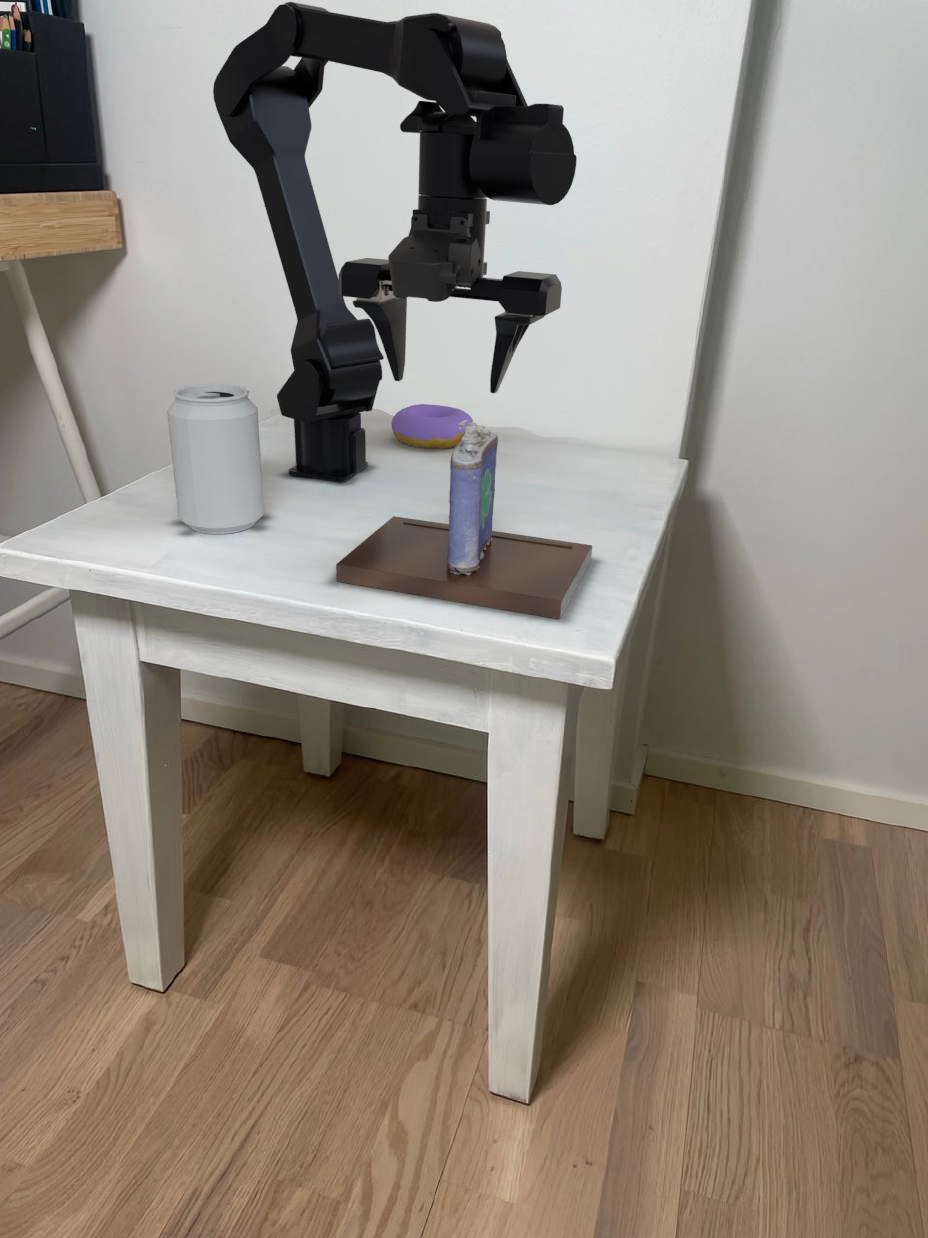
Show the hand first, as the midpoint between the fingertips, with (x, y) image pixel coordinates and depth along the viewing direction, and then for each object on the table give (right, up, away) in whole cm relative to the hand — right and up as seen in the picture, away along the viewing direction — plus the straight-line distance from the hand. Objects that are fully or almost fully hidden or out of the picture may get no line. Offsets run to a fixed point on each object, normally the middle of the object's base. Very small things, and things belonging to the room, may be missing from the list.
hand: (445, 386), depth 83 cm
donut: (-2, 0, +27) cm, 27 cm away
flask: (+2, -16, -9) cm, 18 cm away
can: (-20, -13, 0) cm, 24 cm away
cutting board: (+2, -17, -8) cm, 19 cm away
